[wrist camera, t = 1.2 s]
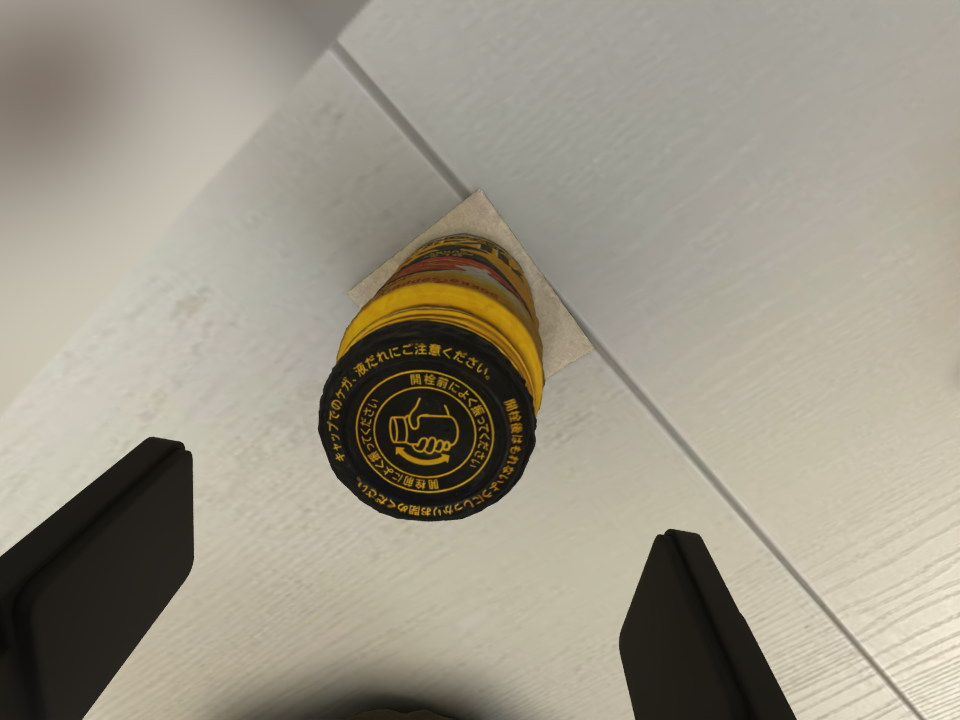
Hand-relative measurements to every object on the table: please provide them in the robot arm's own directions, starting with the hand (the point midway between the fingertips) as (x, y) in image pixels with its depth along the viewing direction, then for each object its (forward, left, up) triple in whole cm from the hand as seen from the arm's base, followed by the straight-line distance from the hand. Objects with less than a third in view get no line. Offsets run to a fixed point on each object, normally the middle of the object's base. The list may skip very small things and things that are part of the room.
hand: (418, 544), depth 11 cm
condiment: (0, 0, -15) cm, 15 cm away
